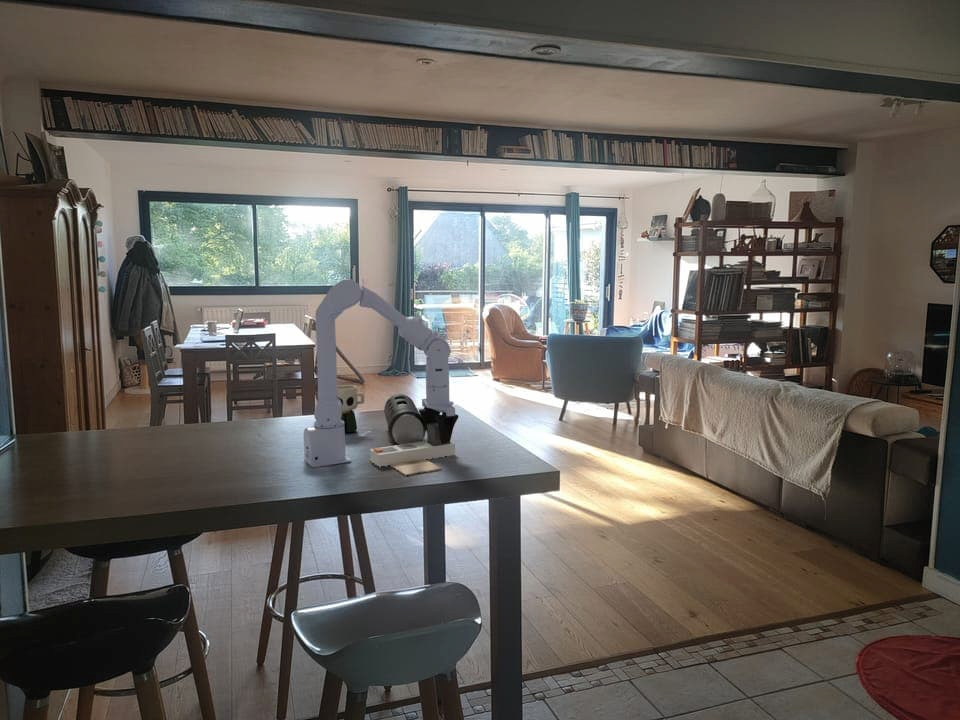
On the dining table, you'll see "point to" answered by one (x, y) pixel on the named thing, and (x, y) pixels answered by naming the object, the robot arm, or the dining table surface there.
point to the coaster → (415, 467)
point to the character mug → (349, 405)
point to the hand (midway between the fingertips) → (438, 439)
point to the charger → (433, 435)
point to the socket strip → (409, 453)
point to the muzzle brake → (404, 420)
